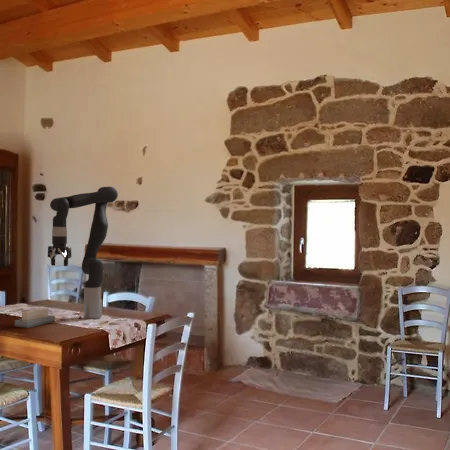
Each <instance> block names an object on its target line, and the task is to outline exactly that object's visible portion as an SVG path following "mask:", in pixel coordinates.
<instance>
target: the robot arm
mask: <svg viewBox="0 0 450 450" xmlns="http://www.w3.org/2000/svg"><path fill="white" fill-rule="evenodd" d="M118 195H119V193H118V190H117V189H116V188H115V187H113V186H101V187H100V188H98V189H97V191H94V192H86V193H78V194H73V195H69V196H62V197H55V198H53V199H52V200H51V201H50V204H49V205H50V206H49V207H50V209H51V210H52V211H54V212H56V214H55V216H53V218H52V230H51V237H52V238H51V244H52V245H49V246H47V258H50V265H51V266H52V267H54V266H56V257H57V256H58V255H61V257H62V258H63V266H64V267H68V266H69V259H71V258H72V247H71V246H67V244H68V228H67V219H68V214H69V210H70V209H76V208H80V207H85V206H89V205H94V212H93V218H92V222H91V225H90V226H91V227H90V231H89V236H88V240H87V241H88V242H87V246H86V249H85V253H84V255H83V259H82V262H81V271H82V272H83V273H84V274H86V275H88V279H87V280H86V281H85V282H84V284H83V292H84V293H83V298H84V299H83V318H84V319H88V320H89V319H90V320H91V319H94V320H95V319H100V318H101V317H102V316H103V299H102V283H103V278H104V276H103V275H104V265H103V262H102V260H101V259H98V258H97V255H98V251H99V249H100V248H101V246H102V244H103V243H104V241H105V240H106V237H107V234H108V229H109V223H108V217H107V208H108V207H107V206H108V204H109V203H113V202H115V201H116V200H117V199H118Z"/></svg>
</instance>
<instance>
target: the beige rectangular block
mask: <svg viewBox="0 0 450 450" xmlns="http://www.w3.org/2000/svg"><path fill="white" fill-rule="evenodd" d="M48 315H49V308H37V309H32V310H26V311H22V312H21V319H22V321H32V320H37V319H41V318H46V317H48Z"/></svg>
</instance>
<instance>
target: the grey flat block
mask: <svg viewBox="0 0 450 450" xmlns="http://www.w3.org/2000/svg"><path fill="white" fill-rule="evenodd" d="M55 316H56V315H50V314H48V317H46V318H41V319H37V320H32V321H22V318H20V319H15V320H14V327H19V328H27V329H28V328H29V329H30V328H33V327H37V326H40V325H45V324H51V323H54V322H55V319H56V317H55Z"/></svg>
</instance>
